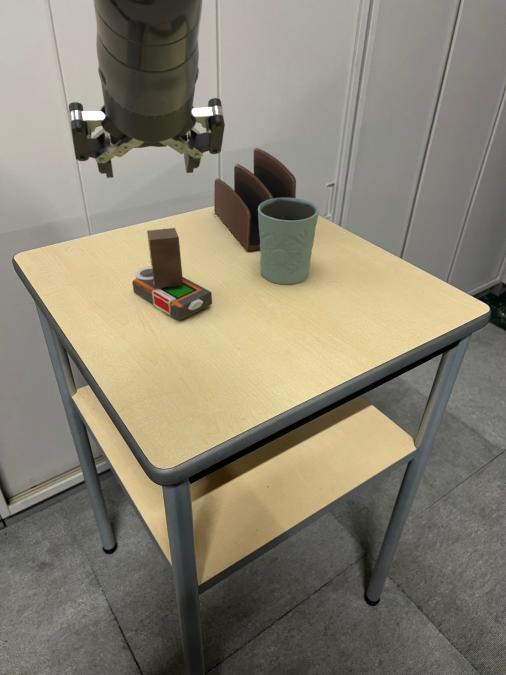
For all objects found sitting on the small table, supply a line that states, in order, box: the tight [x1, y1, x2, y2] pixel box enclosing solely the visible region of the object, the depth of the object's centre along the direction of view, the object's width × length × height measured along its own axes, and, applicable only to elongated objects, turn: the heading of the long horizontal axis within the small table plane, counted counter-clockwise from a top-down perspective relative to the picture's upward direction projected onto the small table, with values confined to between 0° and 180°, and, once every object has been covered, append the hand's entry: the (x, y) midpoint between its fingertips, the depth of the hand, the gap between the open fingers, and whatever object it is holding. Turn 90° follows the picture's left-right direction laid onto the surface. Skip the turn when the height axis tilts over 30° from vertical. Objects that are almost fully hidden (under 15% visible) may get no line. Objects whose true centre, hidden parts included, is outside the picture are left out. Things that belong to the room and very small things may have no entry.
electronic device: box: [131, 266, 213, 321], centre depth 84 cm, size 7×3×15 cm
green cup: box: [258, 198, 320, 286], centre depth 89 cm, size 10×10×12 cm
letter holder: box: [213, 147, 297, 252], centre depth 102 cm, size 10×20×14 cm, turn 22°
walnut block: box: [146, 227, 184, 289], centre depth 81 cm, size 4×4×8 cm
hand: (149, 167), depth 56 cm, fingers open, 8 cm apart
